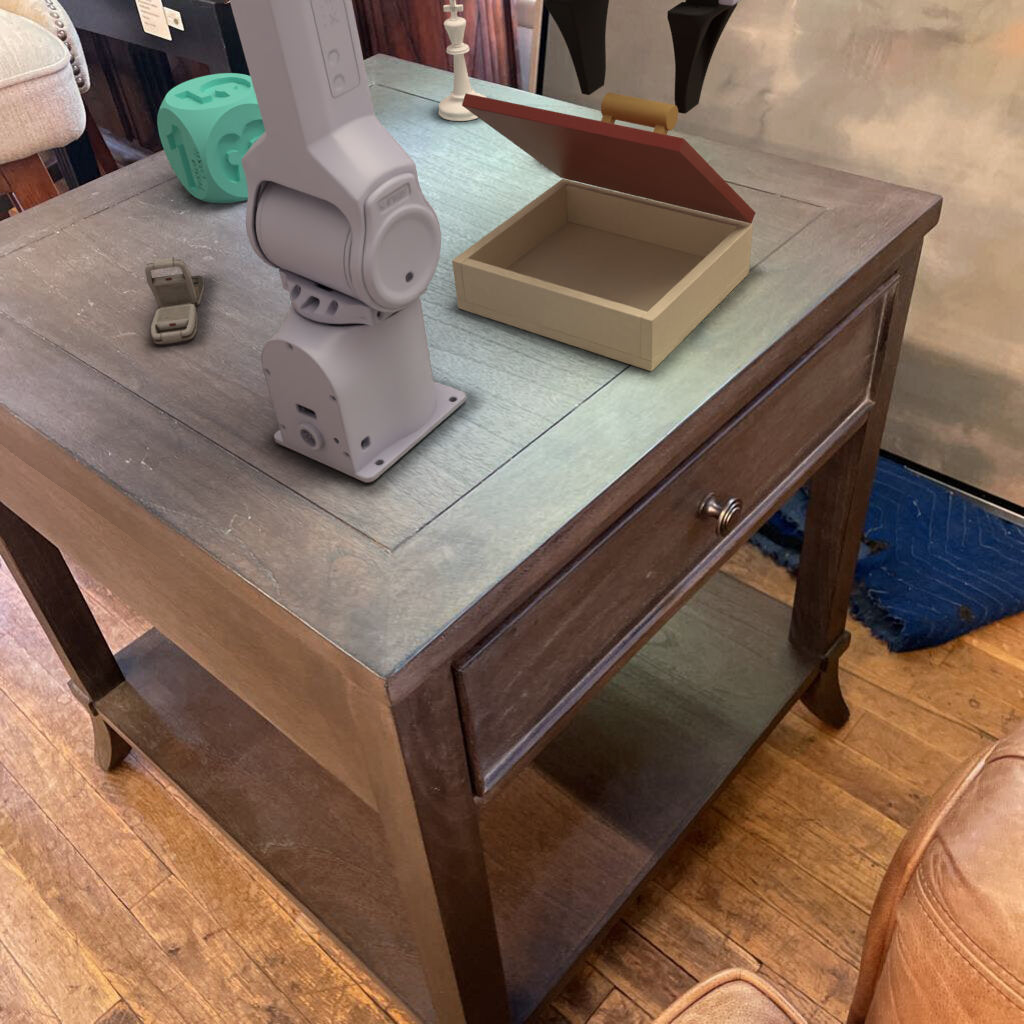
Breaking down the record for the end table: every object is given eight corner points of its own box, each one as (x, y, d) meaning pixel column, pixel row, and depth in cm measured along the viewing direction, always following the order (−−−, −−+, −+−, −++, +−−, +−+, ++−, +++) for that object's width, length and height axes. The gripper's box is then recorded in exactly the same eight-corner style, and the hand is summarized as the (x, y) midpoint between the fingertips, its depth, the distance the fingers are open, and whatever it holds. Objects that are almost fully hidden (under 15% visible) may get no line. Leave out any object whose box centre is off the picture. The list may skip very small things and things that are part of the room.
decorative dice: (173, 185, 94) (145, 94, 88) (252, 154, 97) (229, 64, 92) (218, 213, 89) (191, 119, 84) (299, 180, 93) (278, 87, 87)
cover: (679, 152, 60) (709, 66, 60) (461, 105, 68) (486, 28, 67) (751, 224, 73) (777, 153, 72) (560, 177, 80) (582, 113, 80)
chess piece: (484, 121, 99) (473, 7, 92) (432, 121, 100) (417, 8, 93) (495, 99, 102) (485, -12, 95) (445, 99, 103) (432, -11, 96)
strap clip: (195, 342, 75) (178, 289, 72) (152, 348, 75) (133, 295, 72) (206, 280, 81) (190, 229, 78) (166, 285, 81) (149, 234, 78)
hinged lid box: (651, 372, 68) (652, 320, 65) (457, 308, 75) (451, 260, 73) (749, 273, 76) (753, 224, 73) (564, 224, 83) (562, 178, 80)
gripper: (777, -130, 65) (760, 94, 74) (575, -145, 72) (582, 62, 81) (722, -100, 61) (711, 133, 70) (514, -118, 68) (529, 97, 77)
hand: (639, 98), depth 75 cm, fingers open, 7 cm apart
